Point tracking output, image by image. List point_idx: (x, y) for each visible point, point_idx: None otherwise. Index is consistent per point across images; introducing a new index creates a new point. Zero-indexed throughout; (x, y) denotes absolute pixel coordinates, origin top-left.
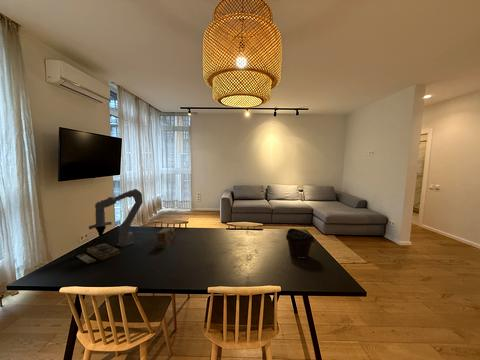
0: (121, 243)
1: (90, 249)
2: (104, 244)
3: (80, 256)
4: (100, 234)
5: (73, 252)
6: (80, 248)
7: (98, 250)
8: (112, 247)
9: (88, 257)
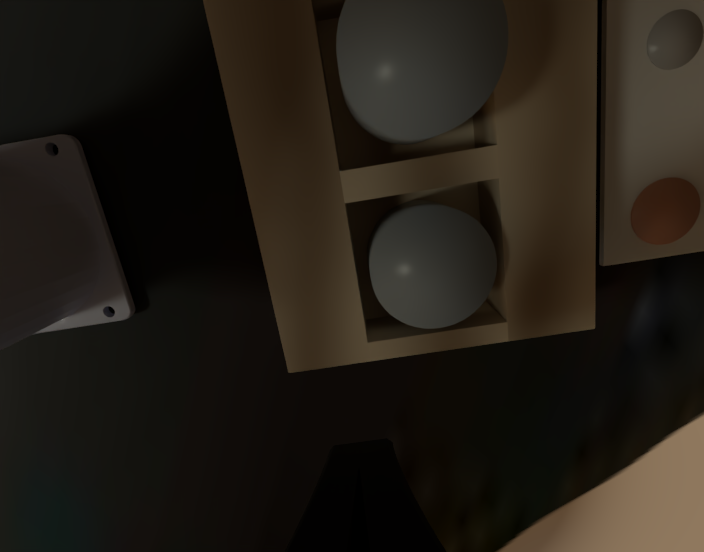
0: (40, 198)
1: (578, 233)
2: (371, 101)
3: (695, 187)
4: (406, 492)
5: (663, 430)
6: (551, 506)
7: None
8: (234, 20)
9: (638, 45)
